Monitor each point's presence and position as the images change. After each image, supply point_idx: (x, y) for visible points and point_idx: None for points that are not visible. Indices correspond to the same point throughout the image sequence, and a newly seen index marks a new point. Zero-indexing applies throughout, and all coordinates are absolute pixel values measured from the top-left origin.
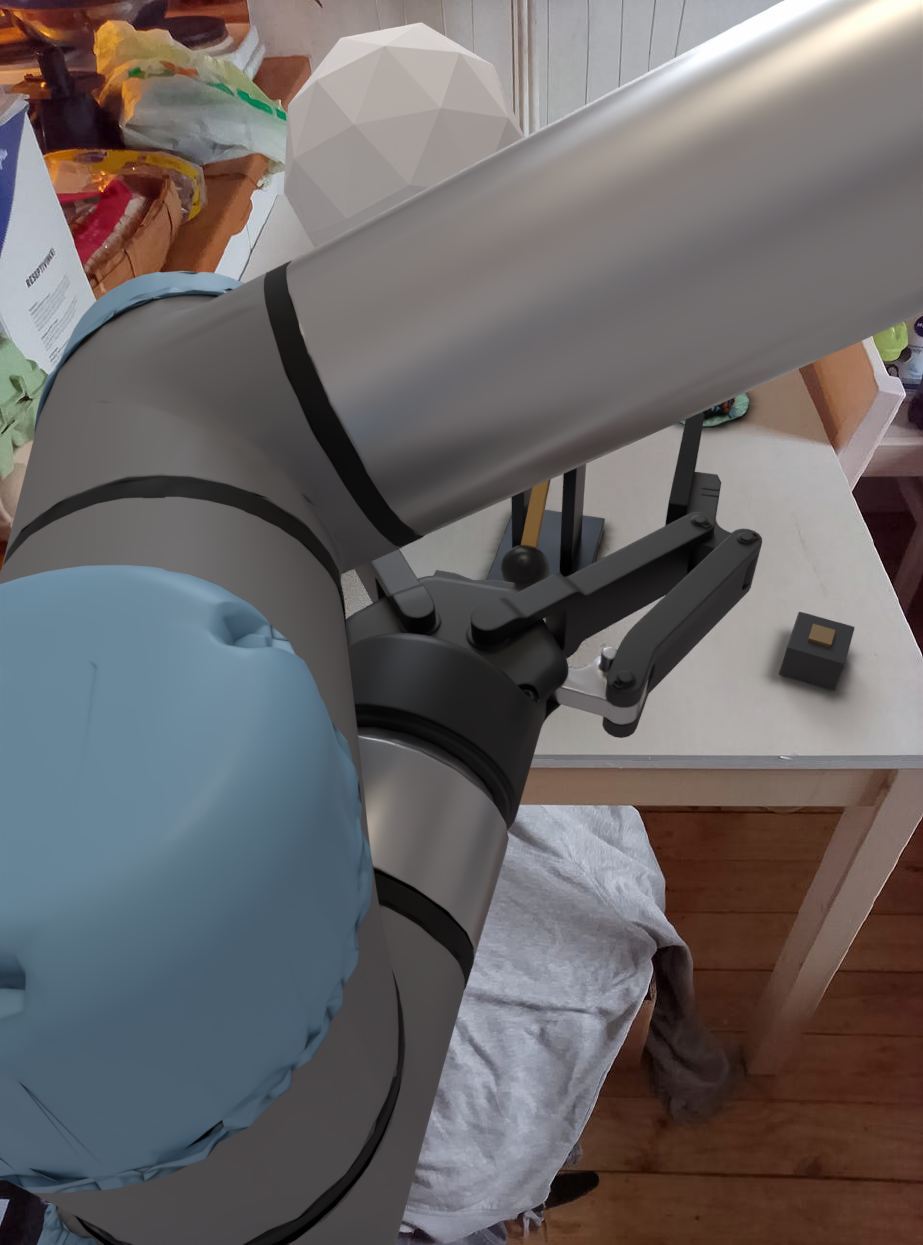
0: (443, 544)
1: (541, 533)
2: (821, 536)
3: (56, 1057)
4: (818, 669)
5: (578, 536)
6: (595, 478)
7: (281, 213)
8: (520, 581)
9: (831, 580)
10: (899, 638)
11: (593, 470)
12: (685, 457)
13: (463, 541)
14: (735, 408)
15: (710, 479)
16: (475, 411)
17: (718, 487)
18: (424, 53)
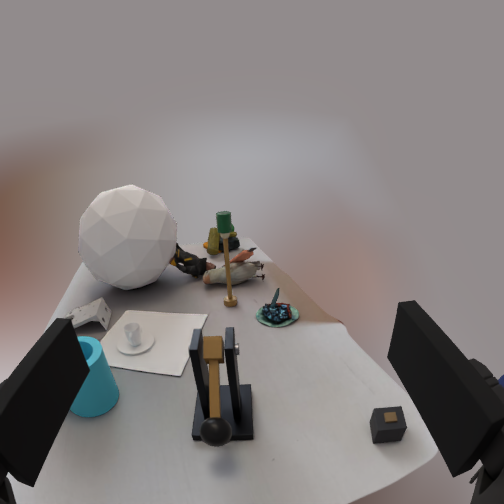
0: (162, 413)
1: None
2: (358, 365)
3: None
4: (394, 434)
5: (240, 399)
6: (238, 362)
7: (84, 265)
8: (215, 441)
9: (372, 385)
10: None
11: None
12: (447, 351)
13: (173, 410)
14: (293, 315)
15: (474, 366)
16: None
17: (488, 372)
18: (131, 191)
